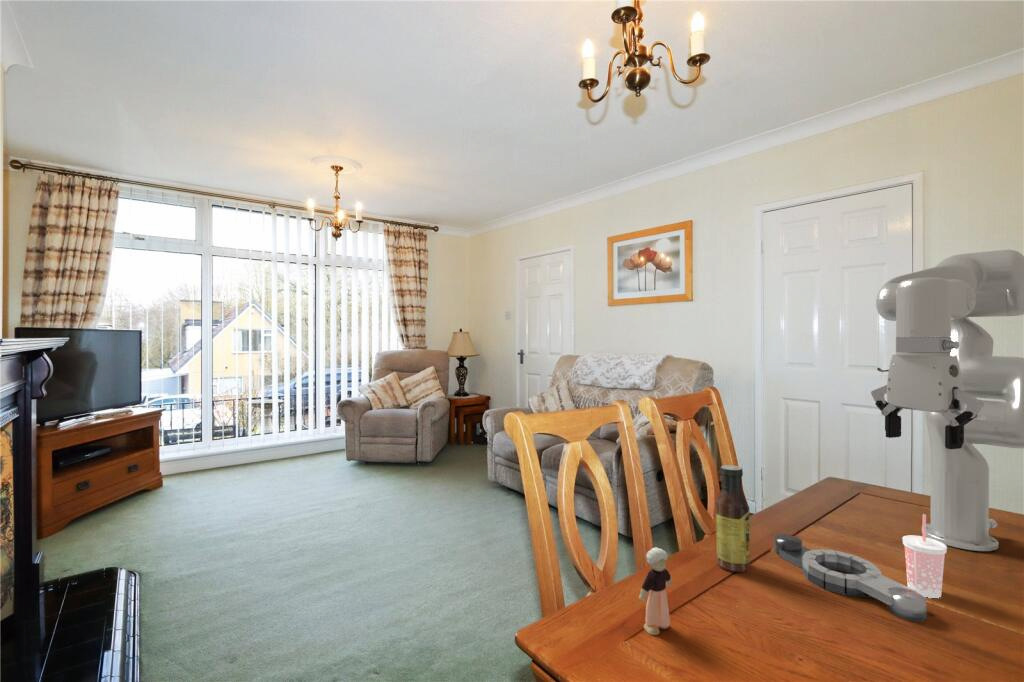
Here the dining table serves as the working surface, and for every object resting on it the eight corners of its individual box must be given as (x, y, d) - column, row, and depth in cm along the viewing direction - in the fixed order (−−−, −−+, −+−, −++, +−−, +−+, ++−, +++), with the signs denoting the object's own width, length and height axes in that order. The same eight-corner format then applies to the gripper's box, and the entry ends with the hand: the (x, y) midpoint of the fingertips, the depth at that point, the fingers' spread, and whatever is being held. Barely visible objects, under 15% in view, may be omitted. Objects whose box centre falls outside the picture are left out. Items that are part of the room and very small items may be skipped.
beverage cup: (955, 597, 85) (955, 518, 84) (933, 604, 82) (933, 523, 82) (915, 580, 90) (916, 506, 90) (894, 586, 88) (894, 510, 88)
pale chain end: (833, 560, 98) (833, 545, 98) (948, 614, 79) (948, 596, 79) (788, 569, 95) (788, 554, 95) (897, 629, 76) (897, 610, 76)
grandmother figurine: (658, 642, 73) (657, 560, 73) (635, 632, 76) (634, 552, 76) (679, 620, 79) (679, 543, 79) (657, 611, 81) (657, 536, 81)
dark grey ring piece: (799, 544, 106) (799, 530, 106) (896, 589, 87) (896, 573, 87) (756, 552, 102) (756, 538, 102) (847, 602, 83) (847, 585, 83)
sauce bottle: (754, 575, 93) (754, 473, 93) (720, 572, 94) (719, 471, 94) (745, 559, 99) (744, 464, 99) (713, 557, 101) (712, 462, 100)
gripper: (997, 348, 79) (996, 452, 79) (887, 346, 96) (886, 432, 96) (966, 348, 77) (965, 455, 77) (859, 346, 93) (858, 434, 93)
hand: (921, 442), depth 86 cm, fingers open, 9 cm apart
